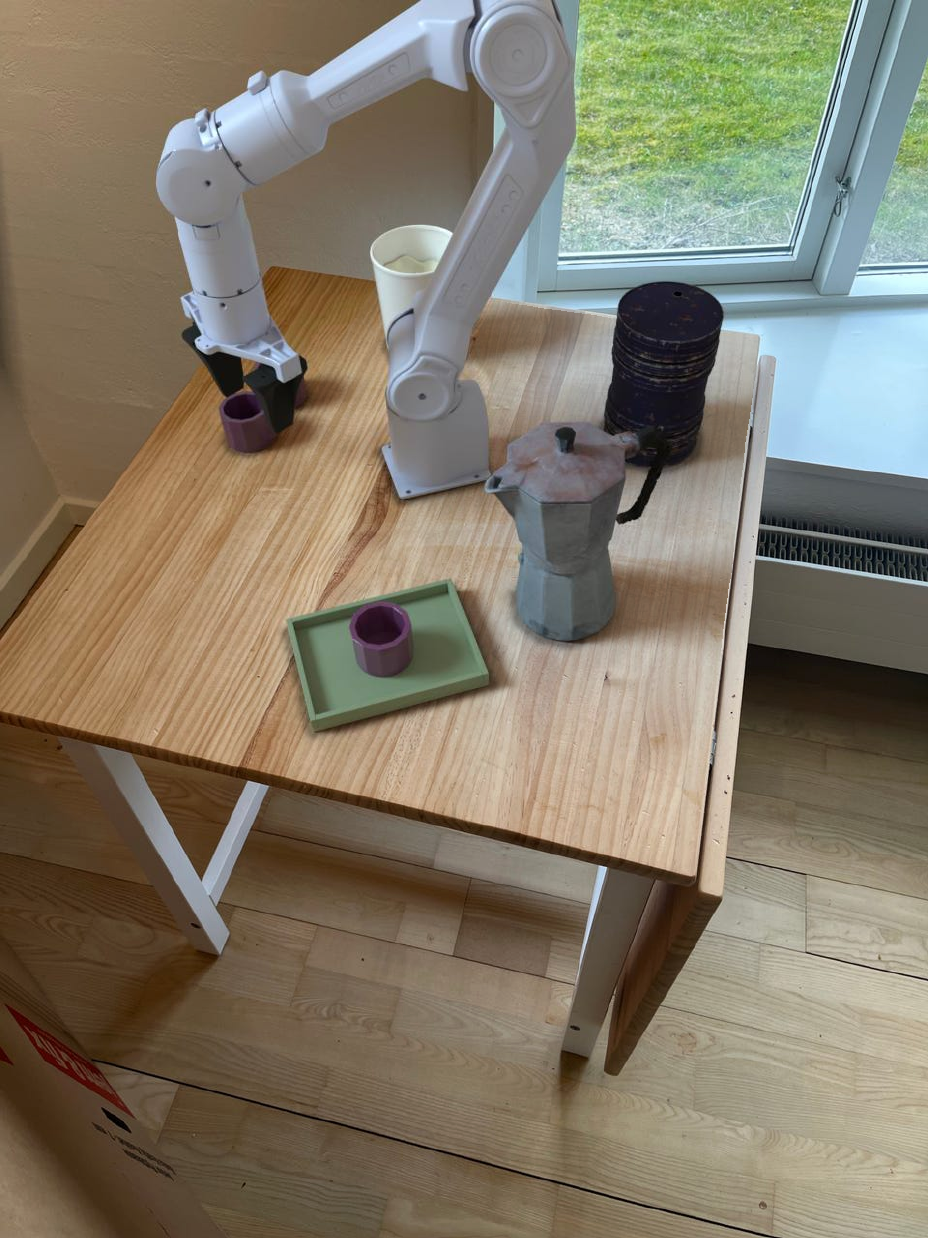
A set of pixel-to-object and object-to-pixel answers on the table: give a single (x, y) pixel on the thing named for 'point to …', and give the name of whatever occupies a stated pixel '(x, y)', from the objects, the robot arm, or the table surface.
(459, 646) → the tray
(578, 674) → the table surface
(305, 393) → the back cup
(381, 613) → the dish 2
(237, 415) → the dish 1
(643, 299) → the storage jar
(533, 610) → the moka pot
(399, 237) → the white paper cup
